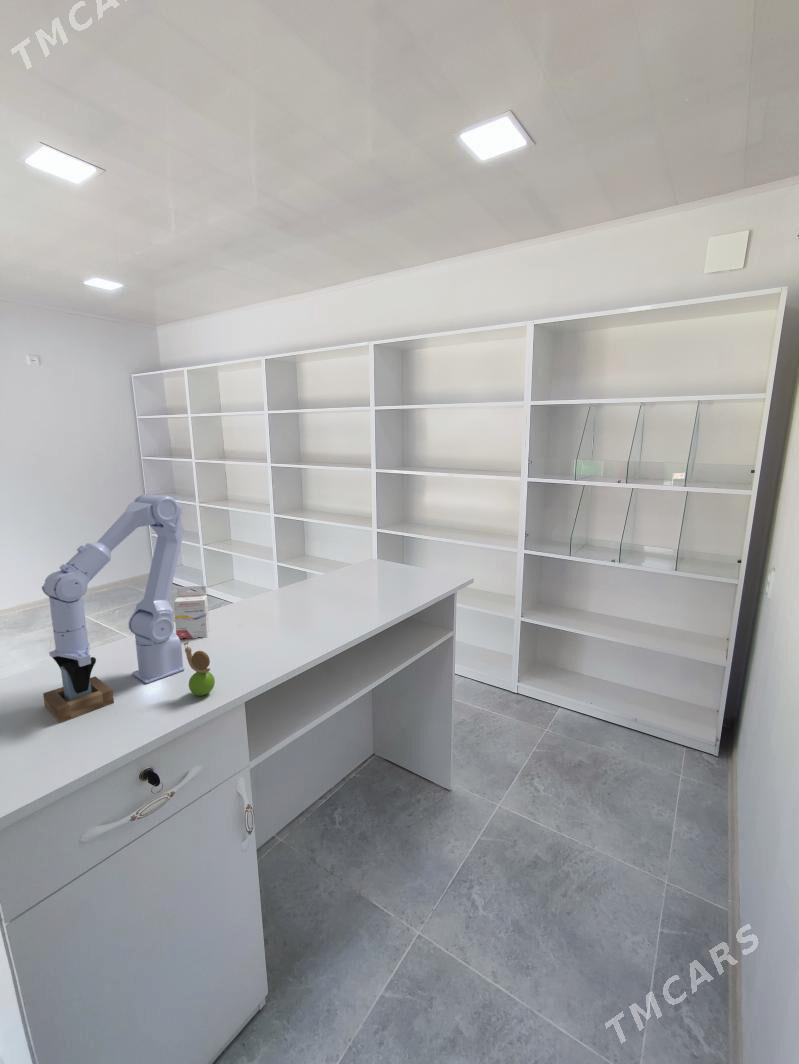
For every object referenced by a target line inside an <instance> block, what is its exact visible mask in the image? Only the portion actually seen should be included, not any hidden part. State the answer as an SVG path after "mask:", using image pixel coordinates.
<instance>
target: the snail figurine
mask: <svg viewBox="0 0 799 1064" xmlns="http://www.w3.org/2000/svg"><path fill="white" fill-rule="evenodd" d="M188 645H189V641H186V642H184V643H183V646H184V652H185V654H186V659H187V661H188V662H187V663H188V665H189V667H190V669H192V670H193V671H195V673H193V674H192V675H191V676H190V678H189V680H188V689H189V690H190V692H191V693H192V694H193V695H195V696H199V697H202V696H205V695H208V694H209V693H211V692H212V690H213V689H214V687H215V683H216V680H215V677H214V675H213V674H212V672H210V671H211V668H209V666H210V664H211V659H210V657H209V655H208V653H206V652H205V651H202V650H197V651H195V652H194V653H193V654H192V648H191V647H190V646H188Z"/></svg>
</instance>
